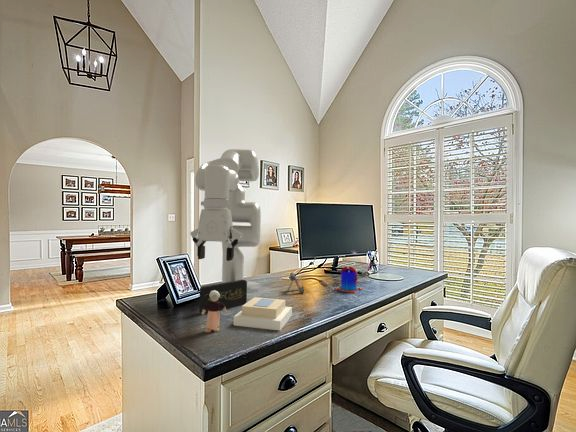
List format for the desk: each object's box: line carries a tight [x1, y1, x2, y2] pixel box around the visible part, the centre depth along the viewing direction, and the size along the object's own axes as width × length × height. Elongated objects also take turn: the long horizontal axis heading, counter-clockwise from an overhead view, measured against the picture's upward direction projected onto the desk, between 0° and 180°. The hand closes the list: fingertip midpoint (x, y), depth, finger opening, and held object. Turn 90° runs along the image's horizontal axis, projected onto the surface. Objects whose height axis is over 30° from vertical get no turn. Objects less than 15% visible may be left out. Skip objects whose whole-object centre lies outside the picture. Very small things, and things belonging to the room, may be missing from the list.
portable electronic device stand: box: [286, 272, 305, 295], centre depth 152 cm, size 9×8×8 cm
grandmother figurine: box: [201, 290, 228, 333], centre depth 99 cm, size 8×4×13 cm, turn 117°
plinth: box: [233, 296, 293, 331], centre depth 110 cm, size 16×16×6 cm
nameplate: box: [198, 279, 248, 315], centre depth 122 cm, size 21×2×10 cm, turn 138°
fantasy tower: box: [333, 265, 364, 294], centre depth 158 cm, size 12×12×12 cm
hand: (215, 259), depth 99 cm, fingers open, 9 cm apart
